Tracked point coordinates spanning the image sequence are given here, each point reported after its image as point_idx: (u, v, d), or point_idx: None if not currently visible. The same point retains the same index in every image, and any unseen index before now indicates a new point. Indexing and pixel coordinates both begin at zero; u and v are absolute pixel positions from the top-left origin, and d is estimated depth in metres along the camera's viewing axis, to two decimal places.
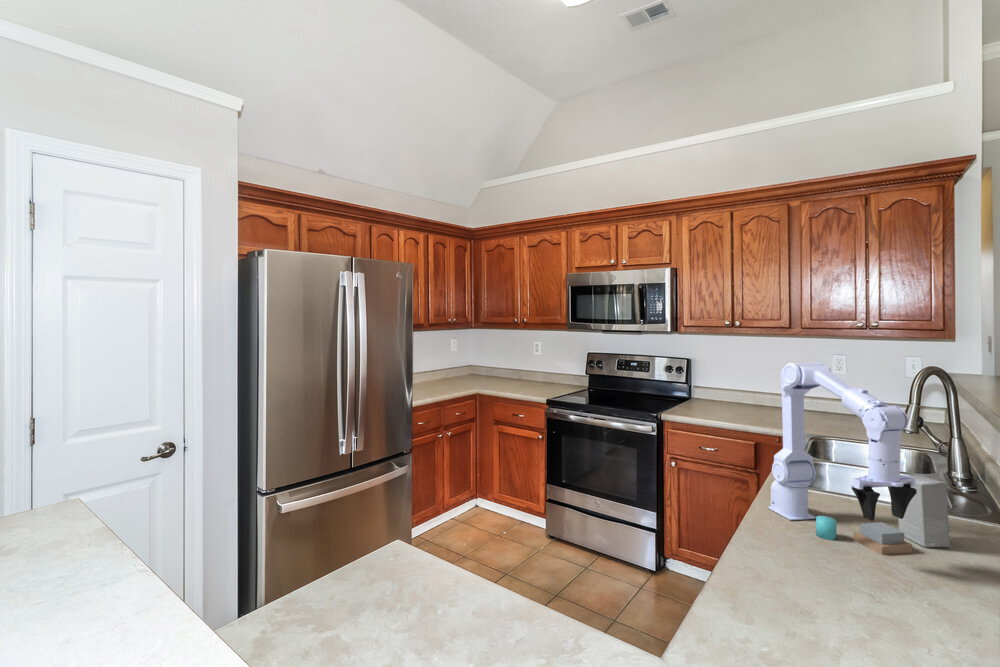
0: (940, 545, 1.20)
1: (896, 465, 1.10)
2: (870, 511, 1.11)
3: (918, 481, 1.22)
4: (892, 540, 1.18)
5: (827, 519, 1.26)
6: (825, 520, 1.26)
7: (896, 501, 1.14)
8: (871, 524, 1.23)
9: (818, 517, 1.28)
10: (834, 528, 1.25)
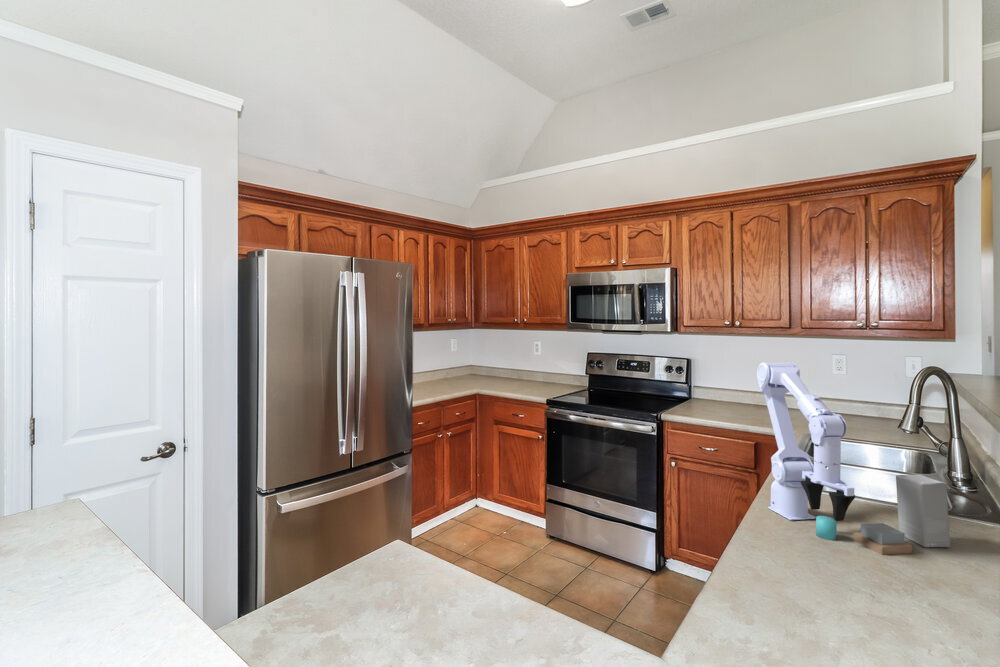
0: (940, 545, 1.20)
1: (817, 465, 1.26)
2: None
3: (918, 481, 1.22)
4: (892, 540, 1.18)
5: (827, 519, 1.26)
6: (825, 520, 1.26)
7: None
8: (871, 525, 1.23)
9: (818, 517, 1.28)
10: (834, 528, 1.25)
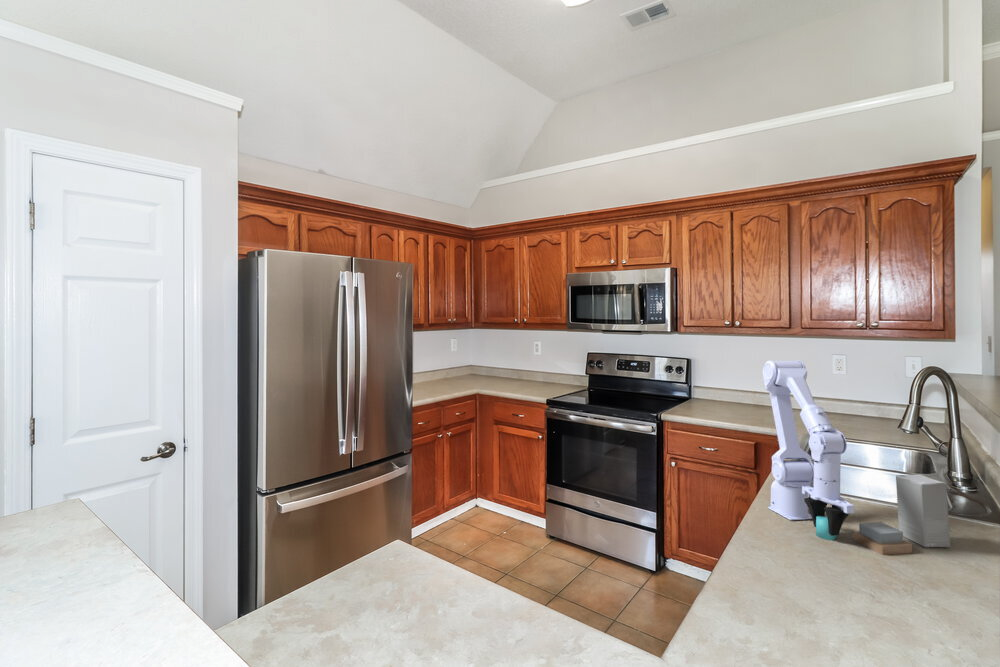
0: (940, 545, 1.20)
1: (817, 481, 1.26)
2: None
3: (918, 481, 1.22)
4: (891, 540, 1.18)
5: (827, 519, 1.26)
6: (825, 520, 1.26)
7: None
8: (870, 524, 1.23)
9: (818, 517, 1.28)
10: None
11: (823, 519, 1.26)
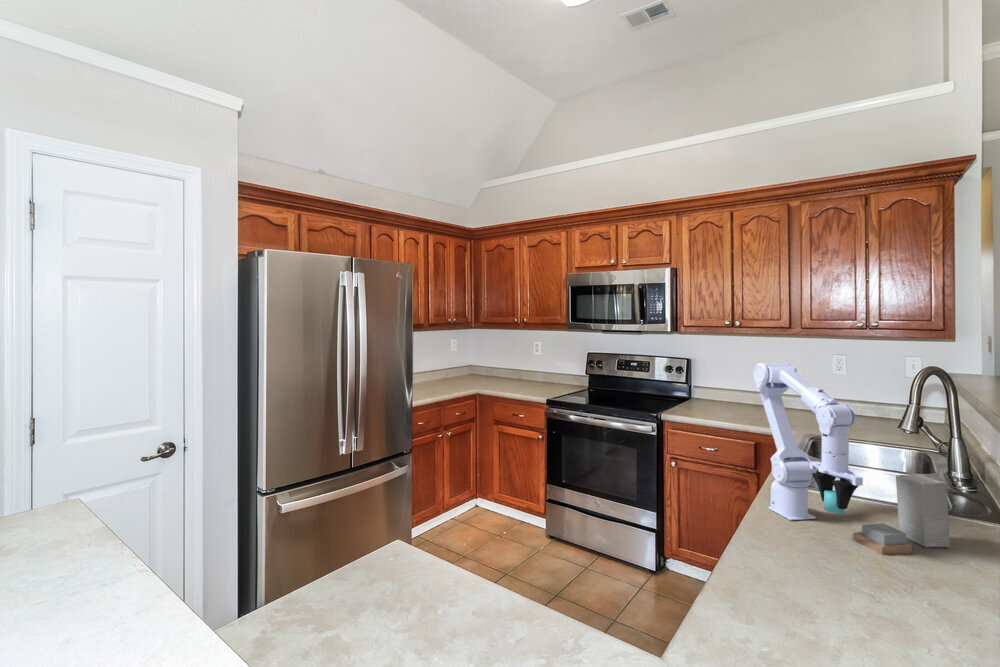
0: (940, 545, 1.20)
1: (825, 455, 1.25)
2: None
3: (918, 481, 1.22)
4: (894, 541, 1.18)
5: (835, 493, 1.25)
6: (833, 494, 1.25)
7: None
8: (873, 526, 1.22)
9: (826, 491, 1.27)
10: None
11: (831, 493, 1.25)
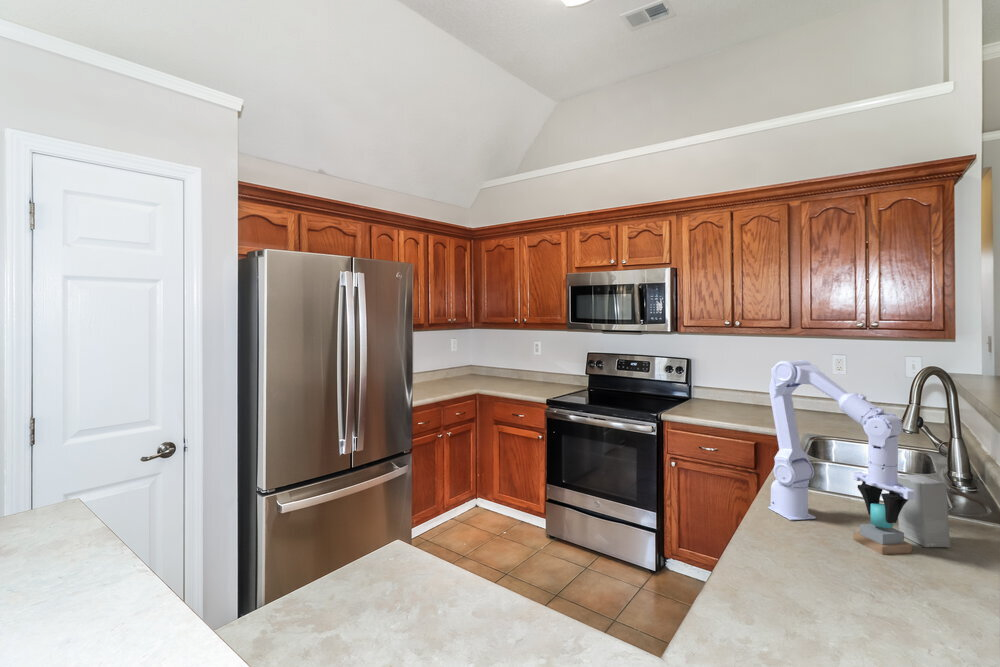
0: (940, 545, 1.20)
1: (873, 466, 1.20)
2: None
3: (918, 481, 1.22)
4: (892, 540, 1.18)
5: (883, 506, 1.21)
6: (881, 507, 1.20)
7: None
8: (870, 525, 1.23)
9: (873, 504, 1.22)
10: None
11: (878, 506, 1.21)
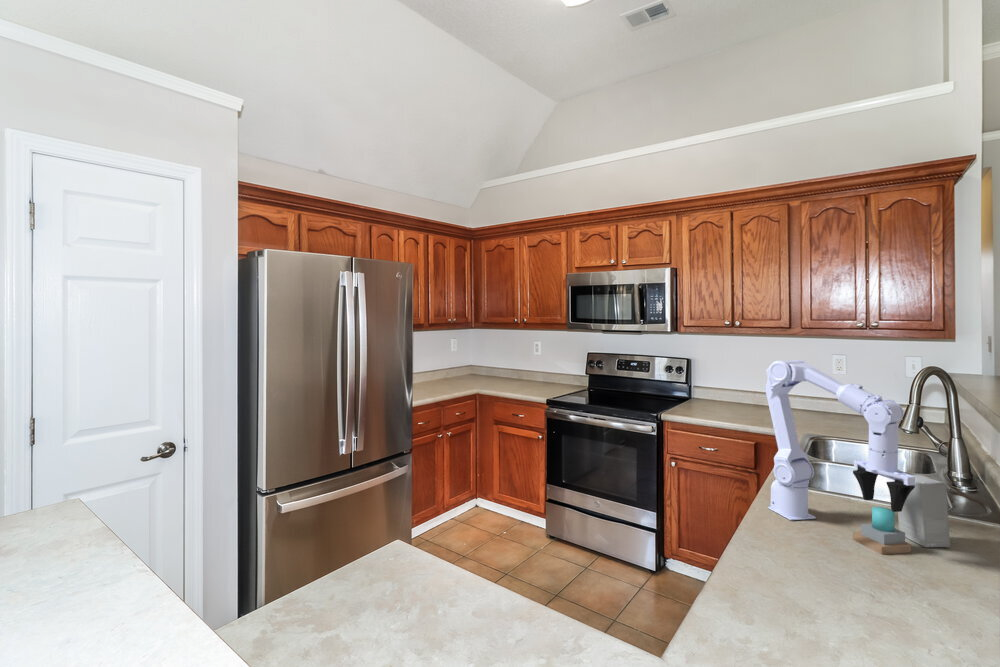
0: (940, 545, 1.20)
1: (873, 453, 1.20)
2: None
3: (918, 481, 1.22)
4: (893, 540, 1.18)
5: (884, 510, 1.21)
6: (882, 511, 1.20)
7: None
8: None
9: (874, 508, 1.22)
10: (892, 519, 1.19)
11: (880, 510, 1.21)
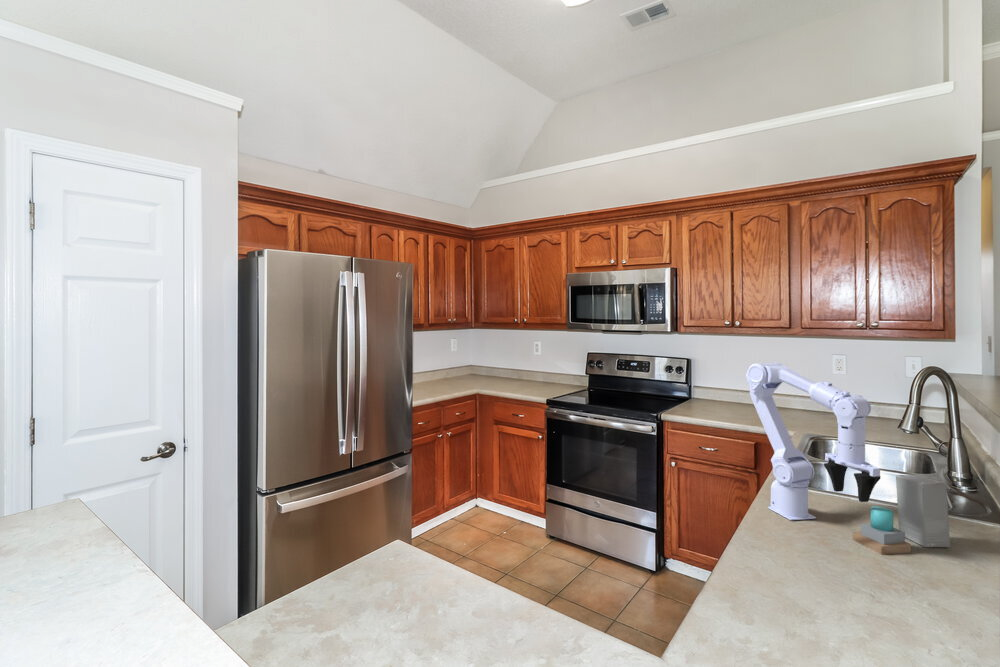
0: (940, 545, 1.20)
1: (842, 446, 1.25)
2: None
3: (918, 481, 1.22)
4: (893, 540, 1.18)
5: (883, 509, 1.21)
6: (881, 510, 1.20)
7: None
8: None
9: (873, 507, 1.22)
10: (891, 519, 1.19)
11: (879, 509, 1.21)
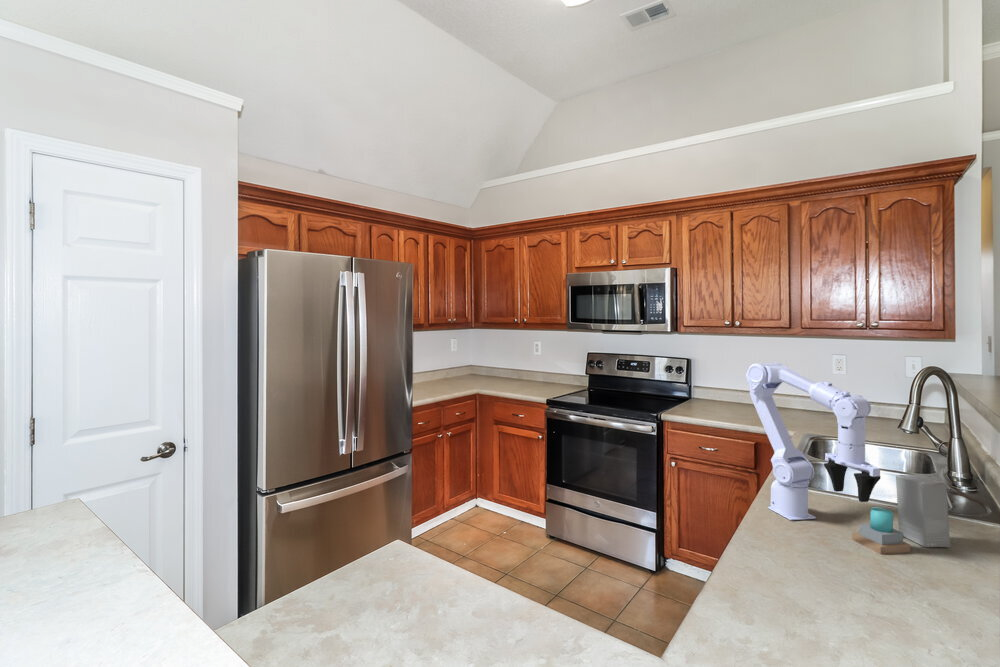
0: (940, 545, 1.20)
1: (842, 446, 1.25)
2: None
3: (918, 481, 1.22)
4: (891, 541, 1.18)
5: (883, 511, 1.21)
6: (881, 512, 1.20)
7: None
8: None
9: (873, 509, 1.22)
10: (891, 520, 1.19)
11: (878, 511, 1.20)
